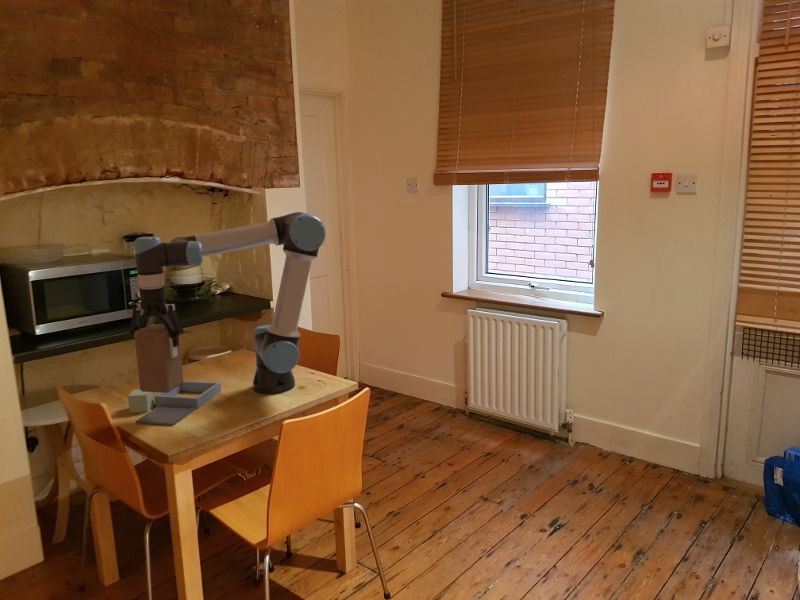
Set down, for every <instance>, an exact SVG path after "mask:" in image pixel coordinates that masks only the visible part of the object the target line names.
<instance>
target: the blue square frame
mask: <svg viewBox="0 0 800 600" xmlns="http://www.w3.org/2000/svg"><path fill="white" fill-rule="evenodd" d="M181 392H196V393H197V392H198V393H201V394H199V395H197V396H196V397H191V396H177V395H178V394H179V393H181ZM220 393H222V386H221V382H217V381H216V382H213V381H196V380H195V381H194V380H183V384H181V385H179V386H178V387H176V388H175V389H173V390H171V391H170V392H168V393H160V392H158V393H157V394H155V395H153V399H154V406H155V407H158V406H171V407H188V408H194V409H200V408H201V407H203V406H204V405H205V404H207V403H208V402H209V401H211V400H212V399H213V398H215V397H216V396H218V395H219V394H220Z"/></svg>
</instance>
